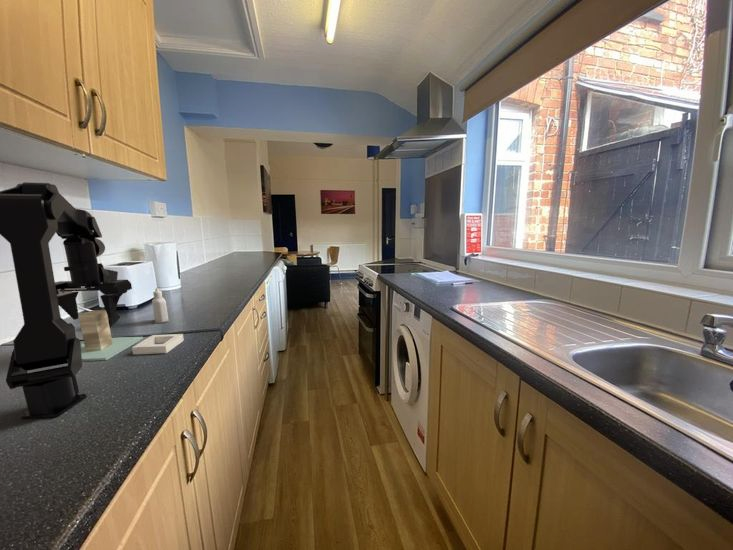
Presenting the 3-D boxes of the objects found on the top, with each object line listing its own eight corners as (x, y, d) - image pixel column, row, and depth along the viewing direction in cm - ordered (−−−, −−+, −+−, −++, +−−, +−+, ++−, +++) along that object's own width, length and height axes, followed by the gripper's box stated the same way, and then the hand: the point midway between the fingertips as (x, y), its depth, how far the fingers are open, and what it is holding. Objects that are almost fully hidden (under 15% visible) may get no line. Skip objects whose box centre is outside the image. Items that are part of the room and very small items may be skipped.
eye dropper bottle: (170, 317, 109) (165, 285, 107) (168, 322, 104) (163, 288, 102) (155, 319, 107) (150, 287, 105) (153, 324, 102) (147, 290, 100)
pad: (106, 360, 76) (105, 357, 76) (48, 362, 76) (47, 360, 76) (143, 338, 90) (142, 336, 90) (94, 340, 89) (93, 338, 89)
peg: (101, 350, 81) (94, 314, 79) (85, 350, 81) (78, 315, 79) (112, 344, 85) (106, 310, 83) (97, 344, 85) (91, 310, 83)
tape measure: (111, 328, 100) (109, 317, 99) (86, 331, 98) (84, 320, 97) (121, 322, 106) (119, 311, 105) (97, 324, 104) (95, 313, 103)
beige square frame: (166, 353, 80) (165, 346, 79) (133, 354, 79) (131, 347, 79) (183, 340, 88) (182, 333, 88) (153, 341, 88) (152, 335, 87)
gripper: (140, 256, 87) (149, 308, 90) (72, 258, 86) (83, 310, 89) (111, 262, 76) (121, 321, 79) (32, 264, 75) (46, 323, 78)
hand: (93, 318), depth 81 cm, fingers open, 9 cm apart
